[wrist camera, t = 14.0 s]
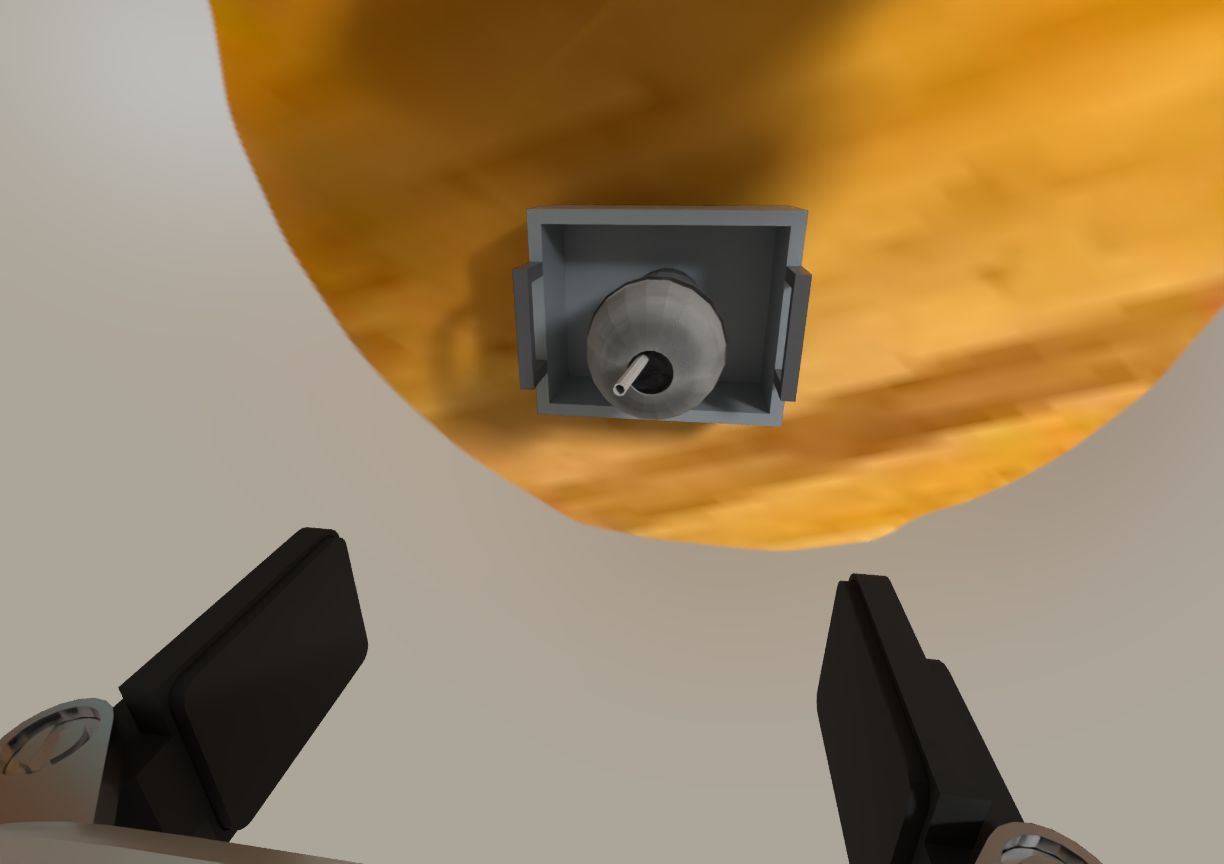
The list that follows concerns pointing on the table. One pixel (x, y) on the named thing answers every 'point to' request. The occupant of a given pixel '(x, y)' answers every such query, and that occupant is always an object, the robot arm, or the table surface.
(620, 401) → the beverage cup
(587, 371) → the tote
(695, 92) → the table surface
